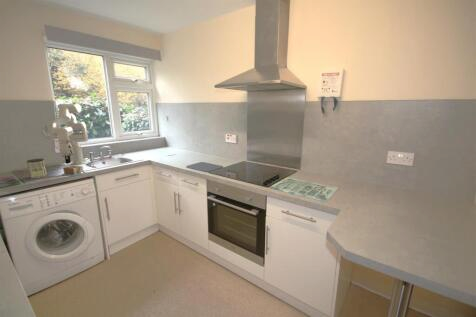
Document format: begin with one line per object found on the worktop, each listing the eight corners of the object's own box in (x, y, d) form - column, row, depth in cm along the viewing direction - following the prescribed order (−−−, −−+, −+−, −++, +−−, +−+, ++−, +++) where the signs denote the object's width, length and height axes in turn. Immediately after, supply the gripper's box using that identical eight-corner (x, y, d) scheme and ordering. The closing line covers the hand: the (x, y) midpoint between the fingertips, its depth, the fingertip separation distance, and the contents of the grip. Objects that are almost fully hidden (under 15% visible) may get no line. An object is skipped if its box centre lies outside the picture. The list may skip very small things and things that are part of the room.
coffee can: (27, 177, 178) (24, 160, 175) (43, 174, 187) (39, 158, 184) (34, 178, 174) (30, 161, 171) (49, 175, 183) (46, 159, 180)
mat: (77, 170, 196) (77, 170, 196) (89, 171, 193) (89, 171, 192) (61, 174, 183) (61, 174, 183) (74, 175, 179) (74, 175, 179)
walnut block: (72, 165, 193) (82, 166, 189) (73, 171, 194) (83, 171, 190) (63, 167, 185) (73, 168, 182) (64, 173, 186) (74, 174, 183)
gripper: (75, 141, 185) (79, 162, 189) (62, 141, 189) (66, 161, 193) (66, 143, 178) (70, 164, 182) (53, 142, 182) (57, 163, 186)
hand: (68, 163), depth 188 cm, fingers closed
